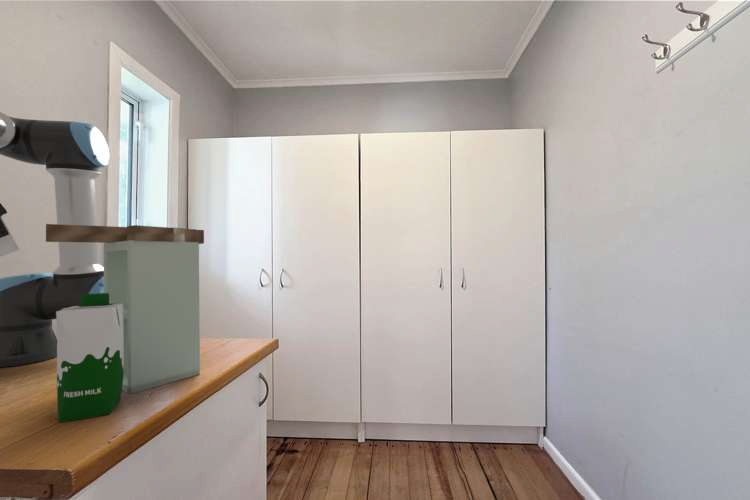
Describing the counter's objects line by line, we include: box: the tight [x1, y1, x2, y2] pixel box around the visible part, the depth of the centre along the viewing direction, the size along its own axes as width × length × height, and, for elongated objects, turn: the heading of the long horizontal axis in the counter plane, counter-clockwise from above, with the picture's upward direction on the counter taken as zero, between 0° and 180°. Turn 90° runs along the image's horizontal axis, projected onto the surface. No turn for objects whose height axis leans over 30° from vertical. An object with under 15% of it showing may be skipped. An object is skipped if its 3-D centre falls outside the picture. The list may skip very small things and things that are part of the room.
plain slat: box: [45, 223, 205, 245], centre depth 78 cm, size 28×3×3 cm, turn 132°
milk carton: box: [56, 293, 124, 423], centre depth 63 cm, size 9×9×20 cm
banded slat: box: [126, 224, 197, 242], centre depth 78 cm, size 13×3×3 cm, turn 150°
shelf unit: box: [103, 240, 201, 395], centre depth 80 cm, size 14×13×30 cm
